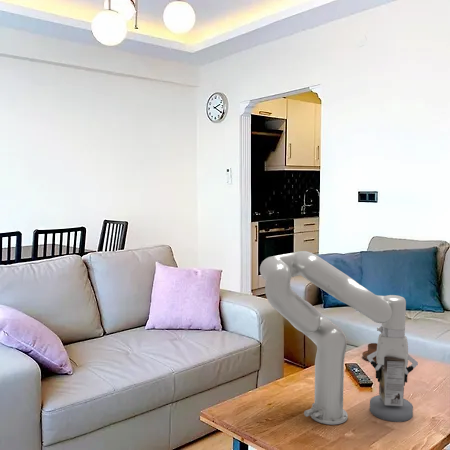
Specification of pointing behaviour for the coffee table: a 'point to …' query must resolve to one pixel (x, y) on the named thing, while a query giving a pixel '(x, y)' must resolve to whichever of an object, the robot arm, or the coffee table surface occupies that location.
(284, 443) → the coffee table surface
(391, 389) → the coffee box
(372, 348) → the cup and saucer
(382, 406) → the podium
